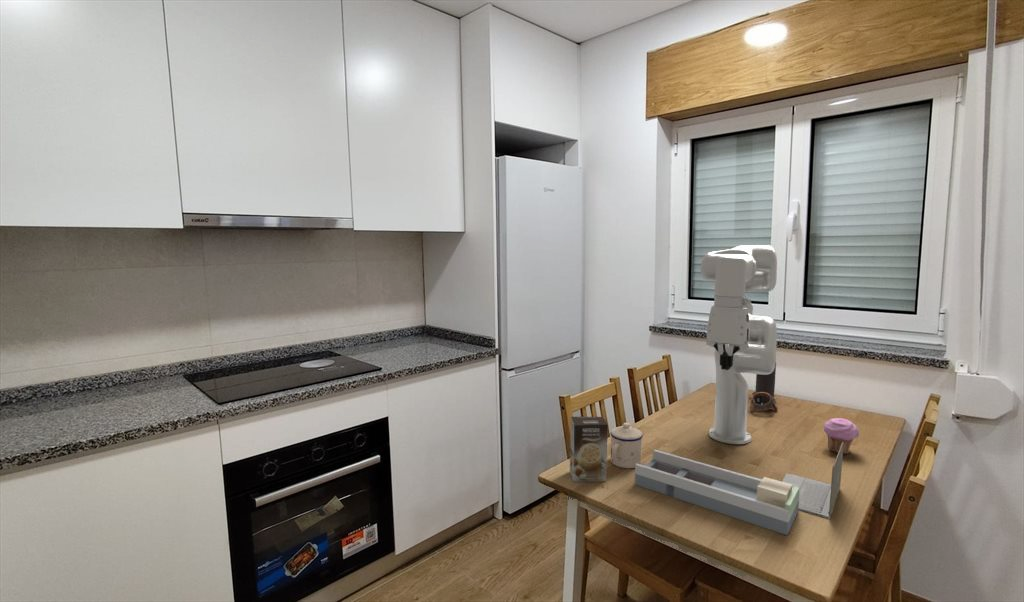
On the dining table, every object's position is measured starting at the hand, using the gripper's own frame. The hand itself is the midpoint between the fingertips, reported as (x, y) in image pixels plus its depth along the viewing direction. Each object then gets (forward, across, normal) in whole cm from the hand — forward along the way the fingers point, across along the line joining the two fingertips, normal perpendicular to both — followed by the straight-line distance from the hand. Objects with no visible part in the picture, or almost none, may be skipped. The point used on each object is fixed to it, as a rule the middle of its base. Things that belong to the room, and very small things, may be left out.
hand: (726, 368), depth 136 cm
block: (+26, -17, +18) cm, 36 cm away
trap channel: (+29, -3, +17) cm, 34 cm away
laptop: (+30, -21, +1) cm, 36 cm away
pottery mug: (+29, +3, -58) cm, 65 cm away
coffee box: (+29, +27, +27) cm, 48 cm away
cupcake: (+29, -24, -35) cm, 52 cm away
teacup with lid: (+29, +23, +14) cm, 40 cm away
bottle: (+29, +6, -75) cm, 81 cm away
